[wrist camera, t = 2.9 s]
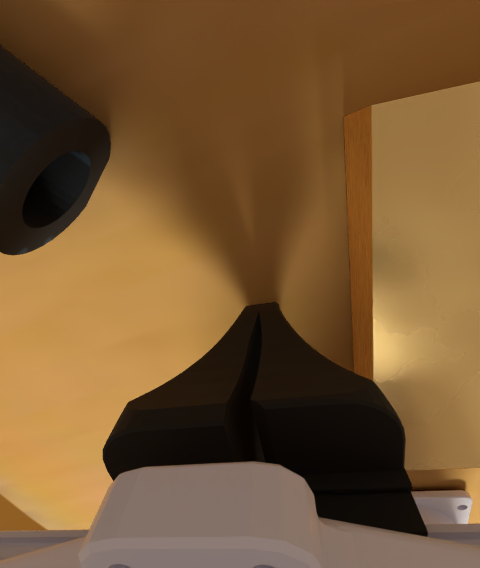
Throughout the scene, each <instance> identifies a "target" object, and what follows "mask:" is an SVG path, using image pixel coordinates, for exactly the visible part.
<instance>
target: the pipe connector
mask: <svg viewBox="0 0 480 568" xmlns="http://www.w3.org/2000/svg"><path fill="white" fill-rule="evenodd" d="M110 145H111V143H110V136H109V133H108V131H107V129H106V127H105V126H104V125H103V124H102V123H101V122H100V121H99V120H98V119H96V118H95V117H94V116H92V115H91V114H90V113H88V112H87V111H86V110H85V109H83V108H82V107H81V106H79V105H78V104H77V103H75V102H74V101H73V100H71V99H70V98H69V97H67V96H66V95H65V94H63V93H62V92H61V91H60V90H58V89H57V88H56V87H54V86H53V85H52V84H50V83H49V82H48V81H46V80H45V79H44V78H42V77H41V76H40V75H38V74H37V73H36V72H35V71H33V70H32V69H31V68H29V67H28V66H27V65H25V64H24V63H23V62H21V61H20V60H19V59H17V58H16V57H15V56H13V55H12V54H11V53H10V52H8V51H7V50H6V49H4V48H3V47H2V46H0V252H1V253H3V254H8V255H19V254H25V253H28V252H31V251H33V250H35V249H37V248H39V247H41V246H43V245H45V244H46V243H48V242H50V241H51V240H53V239H54V238H55V237H56V236H58V235H59V234H60V233H61V232H63V231H64V230H65V229H66V228H67V227H68V226H69V225H70V224H71V223H72V222H73V221H74V220H75V219H76V218H77V217H78V216H79V214H80V213H81V212H82V211H83V209H84V208H85V207H86V205H87V203H88V201H89V199H90V197H91V195H92V193H93V191H94V189H95V187H96V185H97V183H98V181H99V178H100V176H101V174H102V172H103V170H104V168H105V166H106V164H107V162H108V160H109V156H110Z"/></svg>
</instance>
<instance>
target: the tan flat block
mask: <svg viewBox="0 0 480 568" xmlns="http://www.w3.org/2000/svg"><path fill="white" fill-rule="evenodd" d="M344 139H345V164H346V188H347V212H348V237H349V261H350V285H351V309H352V334H353V358H354V373H356V374H358V375H360V376H363V377H365V378H368V379H370V380H373V381H374V382H375V383H376V385H377V386H378V387H379V388H380V390H381V391H382V392H383V394H384V395H385V396H386V398H387V399H388V401H389V402H390V404H391V405H392V407H393V408H394V410H395V411H396V413H397V415H398V417H399V418H400V420H401V423H402V425H403V427H404V431H405V437H406V444H405V463H404V468H405V470H406V471H412V470H437V469H462V468H480V81H479V82H474V83H470V84H465V85H461V86H456V87H451V88H447V89H442V90H438V91H433V92H429V93H424V94H420V95H415V96H411V97H406V98H402V99H397V100H393V101H388V102H384V103H379V104H374V105H371V106H368V107H366V108H364V109H361V110H359V111H356V112H354V113H352V114H349V115H347V116H345V117H344Z"/></svg>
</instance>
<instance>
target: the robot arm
mask: <svg viewBox="0 0 480 568" xmlns="http://www.w3.org/2000/svg"><path fill="white" fill-rule="evenodd" d="M405 444H406V437H405V431H404V427H403V425H402V423H401V420H400V418H399V417H398V415H397V413H396V411H395V410H394V408H393V407H392V405H391V404H390V402H389V401H388V399H387V398H386V396H385V395H384V394H383V392H382V391H381V390H380V388H379V387H378V386H377V385H376V383H375V382H374V381H373V380H370V379H368V378H365V377H363V376H360V375H358V374H356V373H353V372H351V371H349V370H346V369H345V368H343V367H341V366H339V365H337V364H335V363H333V362H332V361H330V360H329V359H327V358H326V357H324V356H322V355H321V354H320V353H318V352H317V351H316V350H314V349H313V348H312V347H311V346H310V345H309V344H307V343H306V342H305V341H304V340H303V339H302V338H301V337H300V336H299V335H298V334H297V333H296V331H295V330H294V329H293V328H292V327H291V325H290V324H289V323H288V321H287V320H286V319H285V317H284V316H283V314H282V312H281V310H280V308H279V304H277V303H276V302H273V303H265V304H258V305H250V306H246V307H245V308H244V310H243V311H242V312H241V314H240V315H239V317H238V318H237V320H236V321H235V322H234V324H233V325H232V326H231V327H230V329H229V330H228V331H227V333H226V334H225V335H224V336H223V337H222V338H221V339H220V341H219V342H218V343H217V344H216V345H215V346H214V347H213V348H212V349H211V350H210V351H209V352H207V353H206V354H205V355H204V356H203V357H202V358H201V359H199V360H198V361H197V362H196V363H194V364H193V365H192V366H190V367H189V368H188V369H186V370H185V371H184V372H182V373H181V374H179V375H178V376H176V377H174V378H173V379H171V380H170V381H168V382H166V383H165V384H163V385H161V386H159V387H158V388H156V389H154V390H152V391H150V392H148V393H146V394H144V395H142V396H140V397H138V398H136V399H134V400H132V401H130V402H128V403H127V405H126V407H125V408H124V410H123V412H122V414H121V415H120V417H119V419H118V421H117V423H116V425H115V427H114V428H113V430H112V432H111V434H110V436H109V438H108V440H107V441H106V444H105V446H104V448H103V461H104V463H105V466H106V469H107V471H108V473H109V474H110V476H111V478H112V479H113V483H112V484H111V485H110V486H109V488H108V490H107V493H106V495H105V497H104V499H103V501H102V503H101V506H100V508H99V510H98V512H97V514H96V516H95V519H94V521H93V523H92V525H91V527H90V529H89V530H40V531H38V530H36V531H0V568H480V524H468V520H469V515H470V511H471V506H472V498H471V496H470V495H469V493H468V492H466V491H464V490H445V491H412V485H411V482H410V479H409V477H408V475H407V473H406V470H405V468H404V463H405Z"/></svg>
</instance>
